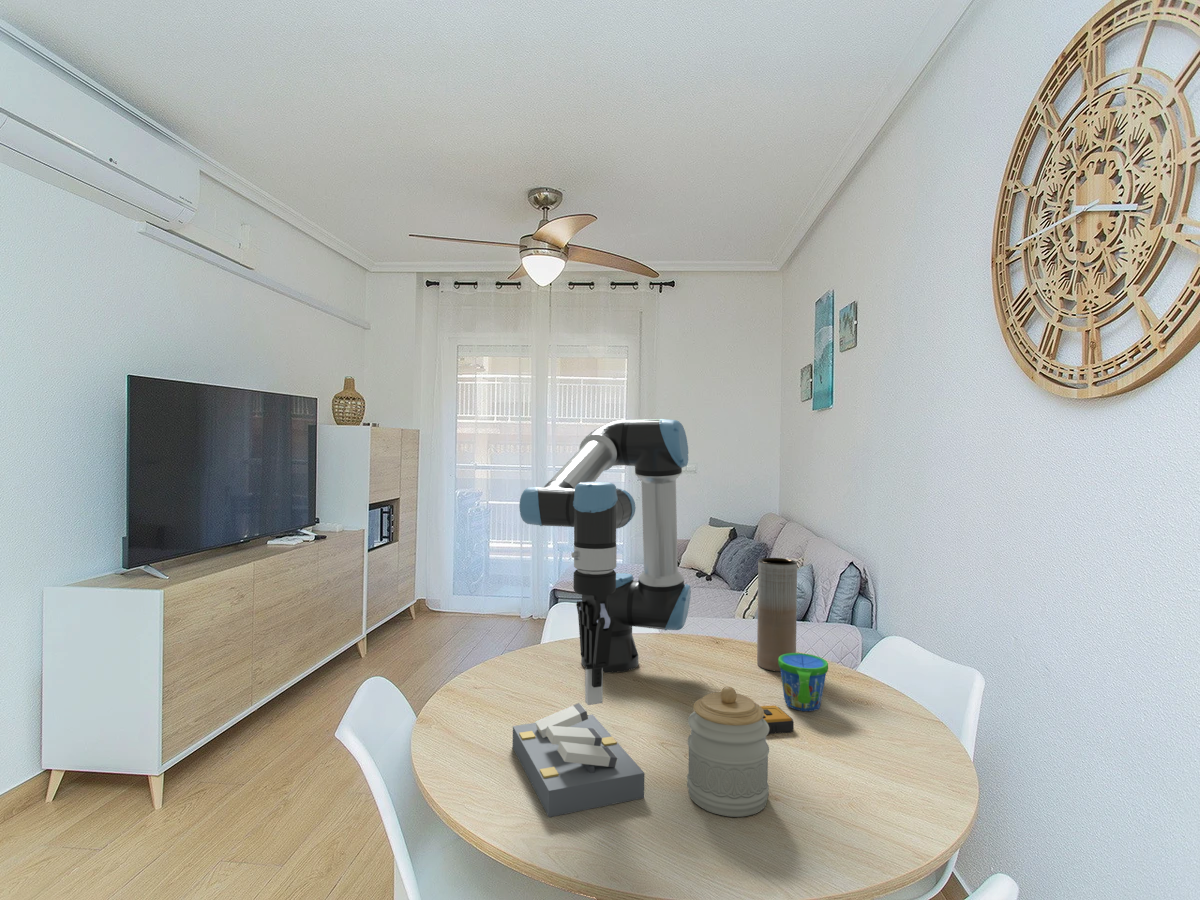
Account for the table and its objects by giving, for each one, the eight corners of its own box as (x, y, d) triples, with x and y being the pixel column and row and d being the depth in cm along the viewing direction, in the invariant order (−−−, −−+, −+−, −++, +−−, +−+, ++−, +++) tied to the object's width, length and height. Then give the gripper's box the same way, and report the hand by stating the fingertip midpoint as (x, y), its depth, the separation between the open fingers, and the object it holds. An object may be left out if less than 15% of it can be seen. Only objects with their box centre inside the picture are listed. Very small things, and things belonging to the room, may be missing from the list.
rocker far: (536, 729, 116) (534, 721, 116) (581, 710, 119) (579, 702, 119) (542, 738, 112) (540, 730, 112) (588, 718, 115) (586, 710, 115)
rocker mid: (545, 734, 109) (547, 725, 109) (592, 737, 112) (594, 728, 112) (552, 744, 105) (553, 735, 106) (600, 747, 109) (602, 738, 109)
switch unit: (512, 747, 117) (512, 720, 117) (592, 734, 123) (592, 709, 123) (548, 817, 95) (548, 784, 95) (644, 797, 101) (644, 766, 101)
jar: (767, 781, 106) (768, 677, 106) (770, 824, 94) (771, 706, 94) (690, 771, 109) (691, 670, 109) (683, 812, 97) (684, 698, 97)
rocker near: (557, 750, 103) (559, 741, 103) (606, 756, 106) (608, 747, 106) (564, 761, 99) (567, 752, 99) (615, 767, 102) (617, 758, 102)
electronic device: (795, 735, 125) (796, 719, 125) (722, 740, 122) (722, 723, 122) (776, 718, 133) (776, 702, 133) (706, 722, 130) (707, 706, 130)
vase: (755, 658, 171) (756, 557, 171) (792, 660, 169) (793, 558, 169) (759, 671, 161) (760, 563, 161) (799, 673, 159) (800, 564, 160)
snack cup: (826, 724, 129) (827, 674, 130) (774, 715, 133) (774, 667, 133) (828, 697, 144) (829, 653, 144) (781, 690, 148) (781, 647, 148)
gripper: (563, 564, 115) (562, 691, 115) (587, 578, 103) (586, 721, 103) (601, 561, 118) (600, 686, 118) (629, 575, 106) (628, 714, 106)
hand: (593, 702), depth 111 cm, fingers closed
